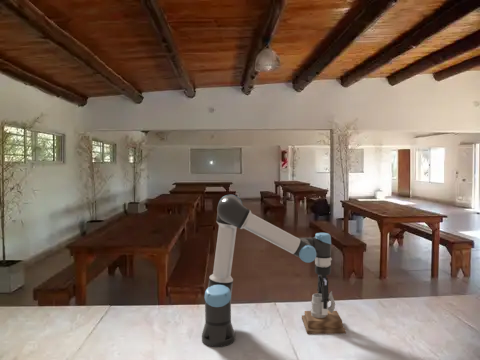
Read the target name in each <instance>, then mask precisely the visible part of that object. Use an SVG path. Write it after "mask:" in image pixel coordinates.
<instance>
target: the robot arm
mask: <svg viewBox="0 0 480 360" xmlns="http://www.w3.org/2000/svg"><path fill="white" fill-rule="evenodd" d="M216 211H217V213H216V221H215V222H216V223H217V225H218V231H217V240H216V247H215V255H214V260H213V261H214V263H213V269H212V270H213V271H212V274H210V275H209V278H208V285H207V288H206V289H205V291H204V303H205V304H204V307H205V308H204V311H205V312H204V313H205V314H204V315H205V316H204V318H205V323H204V326H203V329H202V333H201V341H202V343H203V344H204V345H206V346H210V347H217V348H218V347H219V348H220V347H225V346H229V345H231V344H232V343H234V342H235V340H236V332H235V330H234V327H233V324H232V305H231V304H232V292H233V284H234V283H233V282H234V278H233V277H232V275H231V274H232V267H233V259H234V252H235V245H236V244H235V243H236V235H237V229H240V230H243V229H244V230H246V231H248V232H250V233H252V234H254V235H255V236H258V237H259V238H261V239H263V240H265V241H267V242H270V244H273V245H275V246H277V247H278V248H280V249H283V250H284V251H286V252H288V253H290V254H292V255H294V256H295V257H297V258H299V259H300V260H301V261H302V262H304V263H312V262H314V265H315V266H314V272H315V274H317V290H316V291H317V294H322V301H321V302H322V315H328V307H329V302H330V299H329V279H328V277H327V276H328V275H331V273H332V266H331V264H332V261H333V258H332V257H331V256H332V235H331V234H330V233H328V232H316V233H315V236H313V237H297V236H295V235H293V234H291V233H290V232H287V231H286V230H283V229H282V228H280V227H278V226H276V225H275V224H272V223H270V222H268V221H267V220H266V219H265V220H264V219H263V218H261V217H259V216H257V214H256V215H255V214H254V213H252V211H251V209H249V208H247V207H246V206H244V205H243V201H242V200H241V198H240V197H239V196H237V195H234V194H226V195H224V196H222V197H221V198H220V199H219V201H218V204H217V208H216Z"/></svg>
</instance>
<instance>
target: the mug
mask: <svg viewBox="0 0 480 360" xmlns="http://www.w3.org/2000/svg"><path fill="white" fill-rule="evenodd" d="M328 295H329V302H330V306H328V311H330V312H331V313H332V312H333V311H334V309H335V306H336V302H335V299H334V295H333V291H332V290H330V291H329V292H328ZM311 297H312V298H311V310H310V311H311V315H312V316H313V317H316V318H324V317H326V315H322V302H321V301H322V294H318V293H313V294H312V296H311ZM335 310H336V309H335Z"/></svg>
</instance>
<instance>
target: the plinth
mask: <svg viewBox="0 0 480 360" xmlns="http://www.w3.org/2000/svg"><path fill="white" fill-rule="evenodd" d="M301 320H302V323H303V327H304V329H305V332H306V334H307V335H312V334H313V335H321V334H323V335H326V334H327V335H328V334H330V335H333V334H334V335H335V334H337V335H338V334H340V335H341V334H342V335H343V334H344V335H345V334H347V332H346V331H347V330H346V328H345V327H344V324H343V319H342V318H341V315H340V314H339V312H338V311H337V310H335V311H333V312H332V313H331V312H330V311H328V315H326V317H324V318H316V317H313V316H312V315H311V310H305V311H304V314H302V315H301Z"/></svg>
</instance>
